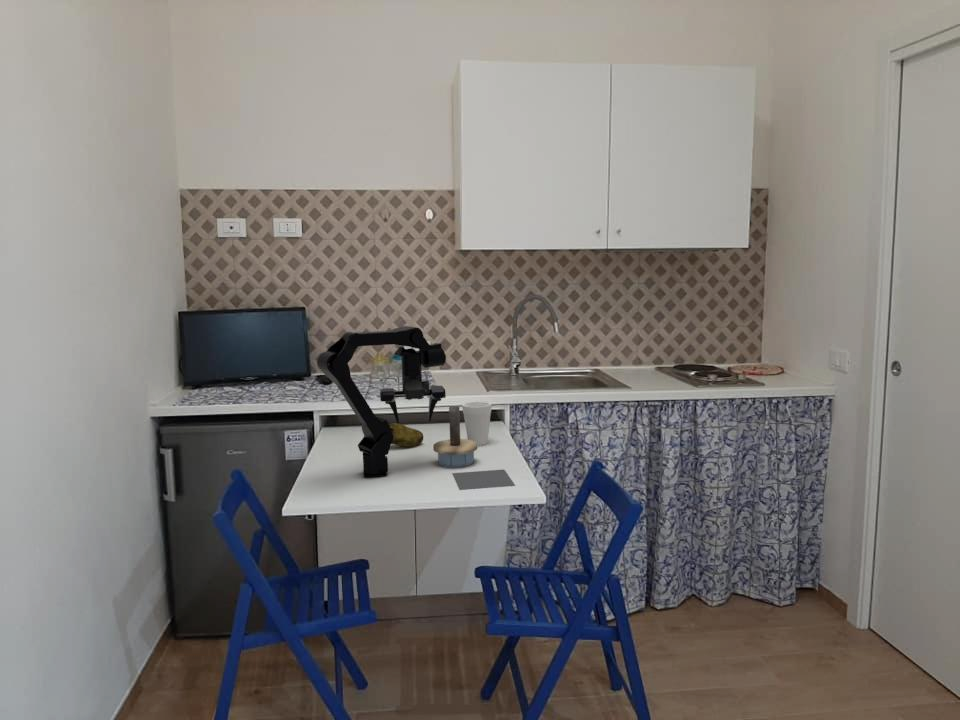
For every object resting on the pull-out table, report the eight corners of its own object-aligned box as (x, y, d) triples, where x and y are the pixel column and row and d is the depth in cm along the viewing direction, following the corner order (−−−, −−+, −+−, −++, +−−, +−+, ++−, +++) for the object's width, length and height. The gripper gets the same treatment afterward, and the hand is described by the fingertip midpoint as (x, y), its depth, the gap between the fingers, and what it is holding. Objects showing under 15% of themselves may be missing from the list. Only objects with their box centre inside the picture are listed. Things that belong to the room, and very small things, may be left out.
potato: (424, 448, 235) (423, 424, 234) (384, 451, 234) (383, 426, 232) (423, 442, 243) (422, 418, 242) (384, 444, 242) (383, 420, 240)
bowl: (440, 469, 212) (440, 454, 212) (437, 459, 222) (436, 445, 222) (475, 466, 214) (475, 451, 213) (470, 457, 224) (470, 443, 223)
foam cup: (467, 448, 234) (466, 408, 233) (460, 441, 243) (459, 402, 241) (495, 445, 237) (494, 405, 235) (487, 438, 246) (486, 400, 244)
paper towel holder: (435, 456, 210) (434, 413, 208) (431, 444, 223) (429, 404, 221) (480, 452, 212) (479, 410, 210) (473, 441, 225) (472, 401, 223)
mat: (459, 490, 193) (459, 489, 193) (452, 474, 207) (452, 473, 207) (515, 486, 195) (515, 485, 195) (504, 470, 210) (504, 469, 210)
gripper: (380, 375, 204) (382, 430, 206) (447, 372, 207) (448, 426, 209) (378, 369, 214) (381, 422, 217) (442, 366, 217) (444, 418, 220)
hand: (413, 422), depth 215 cm, fingers open, 9 cm apart
